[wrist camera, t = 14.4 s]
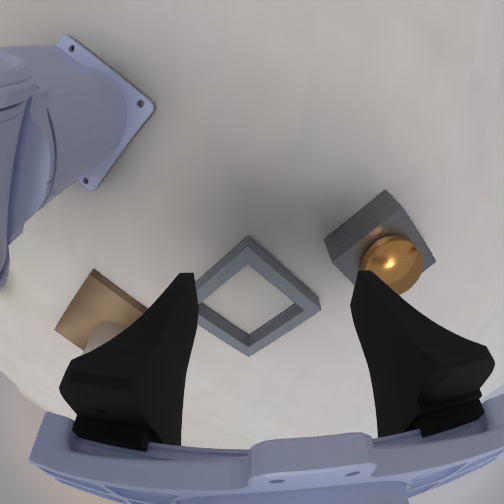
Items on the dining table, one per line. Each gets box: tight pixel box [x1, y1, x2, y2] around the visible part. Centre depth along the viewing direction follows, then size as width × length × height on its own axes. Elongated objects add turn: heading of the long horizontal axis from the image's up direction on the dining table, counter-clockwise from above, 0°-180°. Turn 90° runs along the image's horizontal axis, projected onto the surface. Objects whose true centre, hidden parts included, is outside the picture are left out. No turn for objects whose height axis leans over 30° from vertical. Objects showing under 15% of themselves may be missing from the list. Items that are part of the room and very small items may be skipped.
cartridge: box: [82, 322, 125, 355], centre depth 24 cm, size 5×5×8 cm
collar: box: [195, 236, 321, 357], centre depth 25 cm, size 8×8×2 cm
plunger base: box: [324, 190, 436, 285], centre depth 22 cm, size 6×6×3 cm
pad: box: [54, 269, 147, 350], centre depth 28 cm, size 11×11×1 cm
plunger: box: [360, 235, 423, 295], centre depth 21 cm, size 4×4×3 cm
